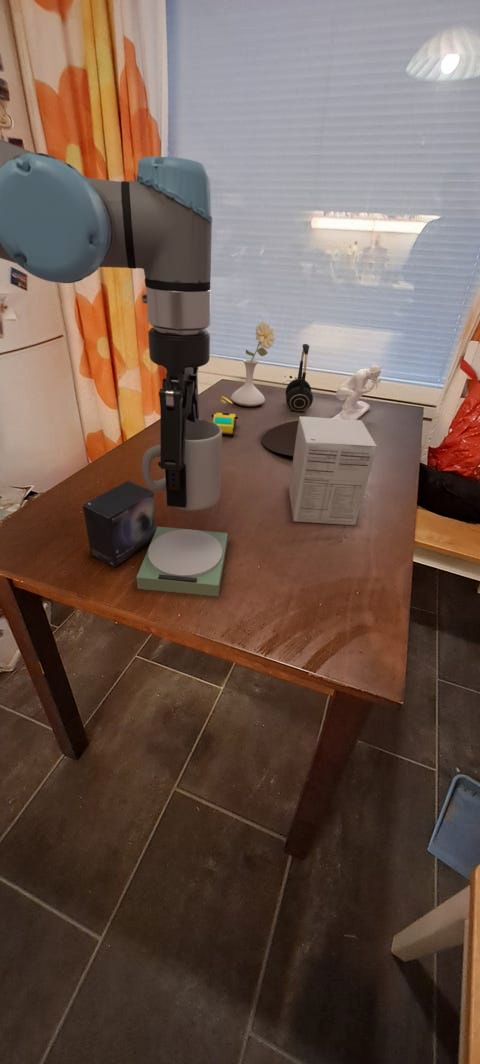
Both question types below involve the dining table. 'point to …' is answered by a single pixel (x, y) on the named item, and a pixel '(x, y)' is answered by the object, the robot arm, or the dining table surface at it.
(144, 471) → the mug
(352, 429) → the supplement box
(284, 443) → the plate
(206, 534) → the scale
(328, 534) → the dining table surface
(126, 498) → the small box
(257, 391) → the flower in vase
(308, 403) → the headphones
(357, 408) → the figurine
